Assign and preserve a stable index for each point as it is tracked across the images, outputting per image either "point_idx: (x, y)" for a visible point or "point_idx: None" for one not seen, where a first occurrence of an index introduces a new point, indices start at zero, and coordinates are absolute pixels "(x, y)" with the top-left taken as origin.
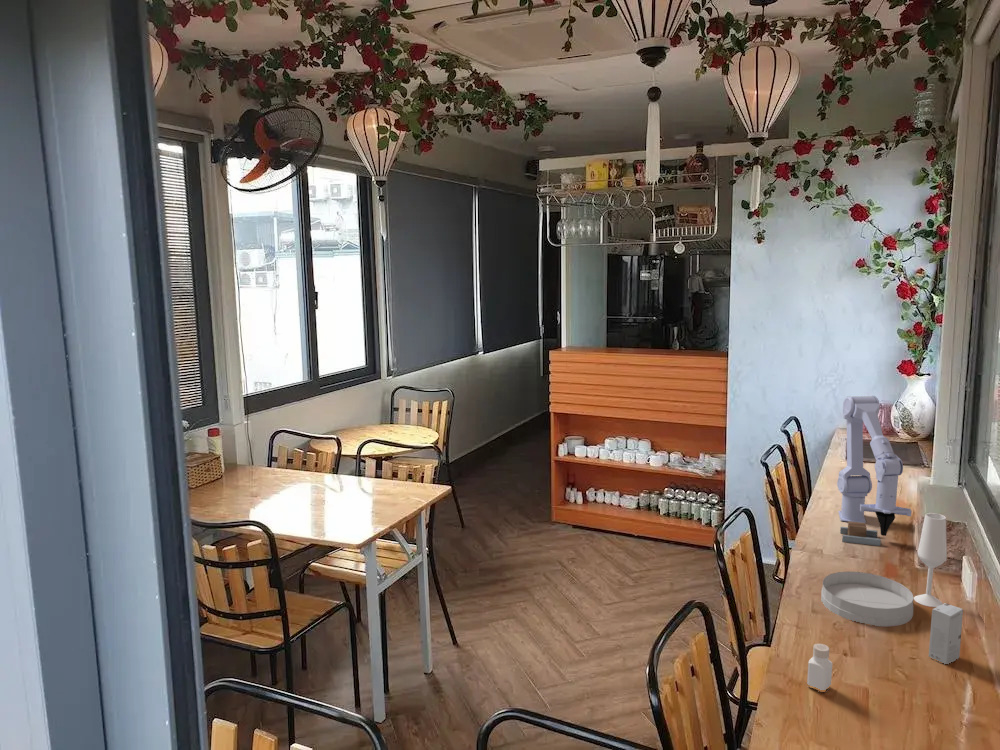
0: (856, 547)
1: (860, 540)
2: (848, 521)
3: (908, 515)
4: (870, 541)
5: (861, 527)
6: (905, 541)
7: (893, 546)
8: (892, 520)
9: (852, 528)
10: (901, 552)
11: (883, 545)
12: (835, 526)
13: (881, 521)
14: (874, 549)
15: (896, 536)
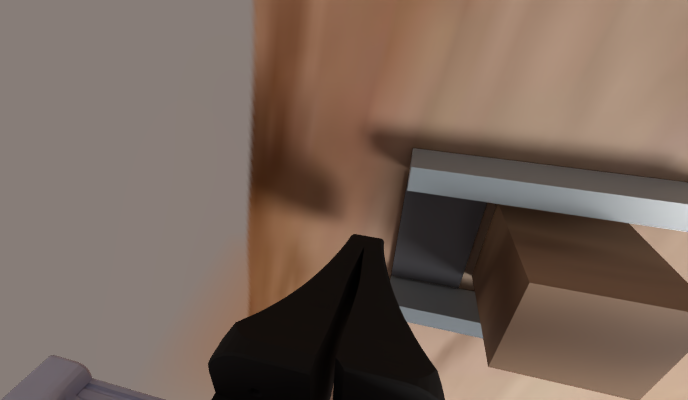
0: (651, 74)
1: (571, 178)
2: (639, 398)
3: (64, 369)
4: (488, 167)
5: (583, 289)
6: (252, 237)
7: (324, 156)
8: (260, 318)
9: (668, 291)
10: (286, 48)
11: (386, 162)
12: (581, 393)
13: (384, 325)
14: (486, 62)
15: (288, 289)
